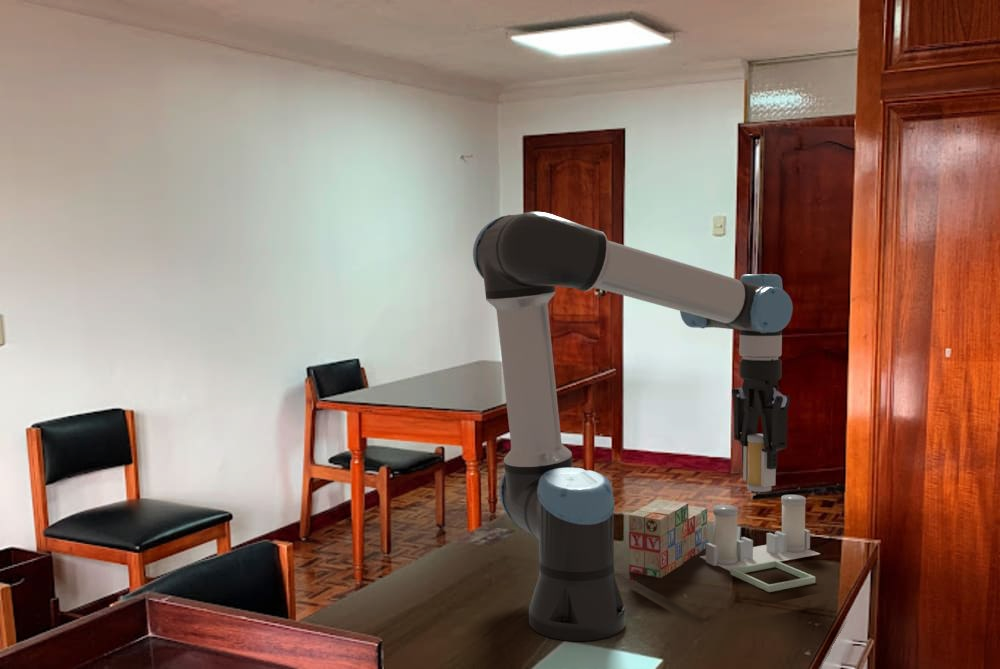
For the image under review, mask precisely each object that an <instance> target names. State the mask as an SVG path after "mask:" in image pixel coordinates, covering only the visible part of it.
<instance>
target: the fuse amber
mask: <svg viewBox="0 0 1000 669" xmlns="http://www.w3.org/2000/svg"><path fill="white" fill-rule="evenodd" d="M747 441H748V480H747V481H746V489H747V490H748V491H751V492H758V493H766V492H771V491H772V486H767V487H762V486H761V451H762V449H765V446H764V439H763V433H756V434H749V435H747Z"/></svg>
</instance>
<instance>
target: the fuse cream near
mask: <svg viewBox="0 0 1000 669" xmlns="http://www.w3.org/2000/svg"><path fill="white" fill-rule="evenodd" d="M738 508H739V507H737V506H736V505H731V504H716V505H713V507H712V513H713V526H712V527H713V530H712V531H713V532H712V534H713V536H712V538H713V539H712V540H713V541H712V542H713V543H712V544H713V545H715V546H718V564H720V565H734V564H737V539H738V515H739V509H738Z"/></svg>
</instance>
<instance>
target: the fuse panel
mask: <svg viewBox="0 0 1000 669" xmlns="http://www.w3.org/2000/svg"><path fill="white" fill-rule="evenodd" d="M765 543H766V544H764V545H763V544H762V545H757V546H754V541H753V539H750V538H748V537H745V536H741V537H740V539H738V538H737V564H734V565H720V564H718V546H715V545H713V543H710V542H708V543H706V548H705V554H704V555H699V556H698V557H699V558H701V559H703V560H705V563H707V564H709V565H711V566H712V567H716V566H718V567H720V568H723V569H725V570H726V571H729V572H730V568H736V567H741V566H747V565H752V564H757V563H763V562H768V561H774V560H776V561H778V562H781V563H782V562H785V561H790V560H791V561H792V560H796V559H801V558H806V557H812V556H819V555H820V552H817V551H815V550H811V530H810V529H806V528H805V551H804V552H801V553H792V552H787V534H784V533H782V531H774V533H771V532H766V542H765Z"/></svg>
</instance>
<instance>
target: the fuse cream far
mask: <svg viewBox="0 0 1000 669" xmlns="http://www.w3.org/2000/svg"><path fill="white" fill-rule="evenodd" d="M806 500H807V499H806V497H805V496H803V495H800V494H799V495H798V494H784V495H782V496H781V500H780V501H781V533H784V534H787V552H792V553H801V552H804V551H805V529H806V504H807V502H806Z"/></svg>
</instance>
